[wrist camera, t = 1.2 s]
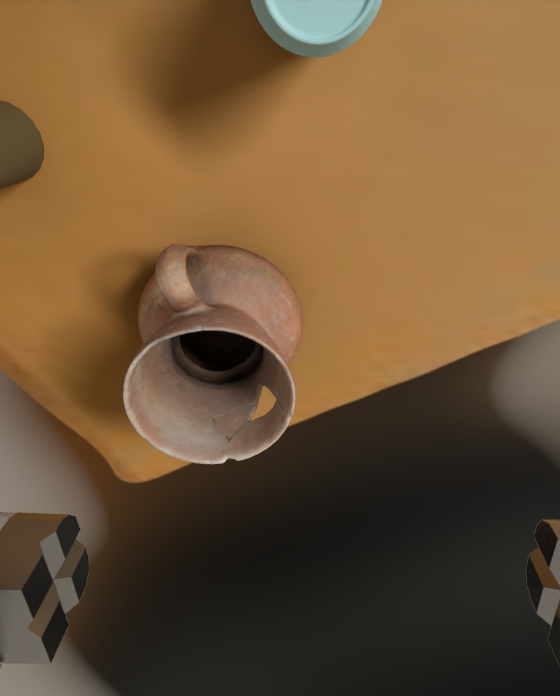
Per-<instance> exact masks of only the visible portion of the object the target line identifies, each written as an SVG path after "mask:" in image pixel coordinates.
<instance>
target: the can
mask: <svg viewBox="0 0 560 696" xmlns="http://www.w3.org/2000/svg"><path fill="white" fill-rule="evenodd" d="M381 3H382V0H251V4H252V7H253V10H254V12H255V15H256V17H257V19H258V21H259V22H260V24H261V26H262V27H263V29H264V30H265V31H266V33H267V34H268V35H269V36H270V37H271V38H272V39H273V40H274V41H275V42H276V43H277V44H278V45H280V46H281V47H283V48H284V49H286V50H288V51H290V52H292V53H294V54H297V55H300V56H305V57H324V56H329V55H332V54H335V53H338V52H340V51H342V50H344V49H346V48H347V47H349V46H350V45H352V44H353V43H354V42H356V41H357V40H358V39H359V38H360V37H361V36H362V35H363V34H364V33H365V31H366V30H367V29H368V28H369V26H370V25H371V23H372V22H373V20H374V18H375V16H376V15H377V13H378V10H379V8H380V6H381Z"/></svg>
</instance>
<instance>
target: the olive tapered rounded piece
mask: <svg viewBox="0 0 560 696" xmlns="http://www.w3.org/2000/svg"><path fill="white" fill-rule="evenodd" d="M43 159H44V146H43V142H42V139H41V135H40V133H39V131H38V129H37V128H36V126H35V125H34V123H33V121H32V120H31V119H30V118H29V117H28V116H27V115H26V114H25V113H24V112H23V111H22V110H20V109H19V108H17V107H15V106H14V105H12V104H10V103H8V102H4V101H1V100H0V188H3V187H6V186H9V185H12V184H15V183H18V182H21V181H24V180H26V179H28V178H31V177H33V176H34V175H35V174H36V172H37V171H38V170H39V169H40V167H41V164H42V162H43Z"/></svg>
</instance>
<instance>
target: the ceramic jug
mask: <svg viewBox="0 0 560 696" xmlns="http://www.w3.org/2000/svg"><path fill="white" fill-rule="evenodd" d="M155 268H156V269H155V273H154V274H153V275H152V276H151V278H150V279H149V281H148V282H147V284H146V286H145V288H144V290H143V292H142V295H141V298H140V302H139V308H138V326H139V332H140V336H141V339H142V342H143V345H142V346H141V348H140V349H139V350H138V352H137V353H136V355H135V356H134V358H133V360H132V361H131V363H130V365H129V367H128V369H127V372H126V374H125V378H124V383H123V402H124V406H125V409H126V413H127V416H128V418H129V420H130V422H131V424H132V425H133V426H134V427H135V429H136V431H137V432H138V433H139V435H140V436H142V437H143V438H144V439H145V440H147V441H148V442H149V443H150V444H151V445H152V446H154V447H155V448H157V449H159V450H160V451H163V452H164V453H166V454H168V455H171V456H173V457H175V458H178V459H182V460H184V461H189V462H194V463H202V464H221V463H224V462H225V461H226V460H227V459H228V458H233V459H235V460H237V461H239V460H243V459H246V458H249V457H252V456H254V455H256V454H259V453H260V452H262V451H263V450H265V449H267V448H268V447H270V446H271V445H272V444H273V443H274V442H275V441H277V440H278V439H279V437H280V436H281V435H282V433H283V432H284V431H285V429H286V428H287V426H288V424H289V422H290V419H291V417H292V415H293V412H294V407H295V386H294V381H293V377H292V374H291V371H290V369H289V366H288V364H289V363H290V362H291V360H292V359H293V357H294V355H295V353H296V351H297V349H298V347H299V344H300V341H301V337H302V330H303V316H302V310H301V305H300V302H299V299H298V296H297V294H296V292H295V290H294V288H293V287H292V285H291V283H290V282H289V281H288V279H287V278H286V277H285V276H284V274H283V273H282V272H281V271H280V270H279V269H278V268H277V267H275V266H274V265H273V264H272V263H270V262H269V261H268V260H266V259H265V258H263V257H261V256H259V255H257V254H255V253H253V252H251V251H248V250H245V249H242V248H238V247H233V246H225V245H209V246H183V245H176V244H173V245H170V246H169V247H167V248H166V249H165V250H164V251H163V252H162V254H161V255H160V256H159V258H158V260H157V262H156V266H155ZM263 385H264V386H266V387H267V388H269V389H270V391H271V392H272V393H273V395H274V396H275V397H276V399H277V400H276V402H275V404H274V406H273V408H272V409H271V410H270V411H269V412H268V413H267V414H266V415H264V416H262V417H260V418H257V419H255V420H253V421H250V420H251V418H252V416H253V414H254V413H255V411H256V409H257V405H258V402H259V398H260V395H261V393H262V387H263Z"/></svg>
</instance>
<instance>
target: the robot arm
mask: <svg viewBox="0 0 560 696" xmlns="http://www.w3.org/2000/svg"><path fill="white" fill-rule="evenodd" d="M79 531H80V527H79V524H78V521H77V519H76V517H75V516H73V515H67V514H42V513H3V512H0V668H1V666H2V665H1V663H51V662H52V660H53V658H54V656H55V653H56V651H57V649H58V647H59V645H60V642H61V641H62V638H63V636H64V634H65V632H66V630H67V627H68V622H67V618H66V614H65V613H66V612H67V611H69V610H70V609H71V608H72V607H74V606H75V605H76V604H77V603H78V602H79V601H80V599H81V597H82V594H83V592H84V590H85V587H86V583H87V577H88V573H89V558H88V554H87V550H86V547H85V546H84V545H82V544H81V543H80V542H79V541H78V540H76V537H77V535H78V533H79ZM534 538H535V540H536V542H537V544H538V546H539V547H538V548H537V549H536V550H535V551H533V552H532V553H531V554H530V555H529V557H528V562H527V567H526V576H527V587H528V591H529V594H530V598H531V601H532V603H533V606H534V608H535V610H536V613H537V614H538V615H539V616H540V617H542V618H543V619H544V620H545V621H546V622H547V623H549V624H550V625H551V630H550V633H549V636H548V641H549V643H550V646H551V648H552V650H553V653H554V655H555V657H556V659H557V661H558V664H559V666H560V520H541V521H540V522H539V524H538V525H537V526H536V530H535V534H534Z"/></svg>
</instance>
